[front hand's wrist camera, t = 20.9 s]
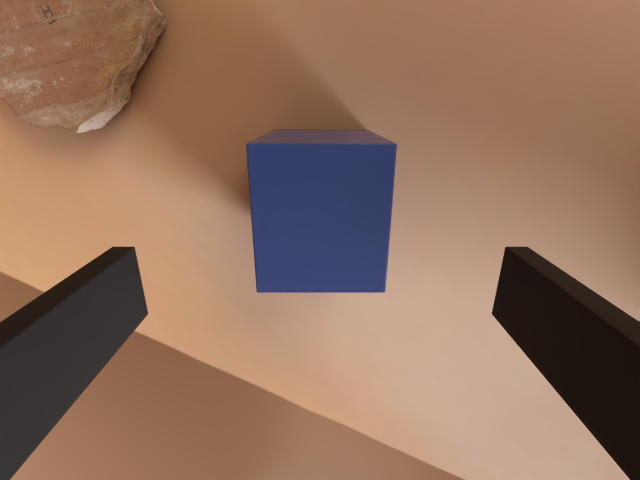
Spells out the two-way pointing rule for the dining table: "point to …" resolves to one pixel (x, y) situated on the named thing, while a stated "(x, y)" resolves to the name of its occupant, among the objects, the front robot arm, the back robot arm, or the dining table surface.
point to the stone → (73, 58)
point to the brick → (321, 210)
